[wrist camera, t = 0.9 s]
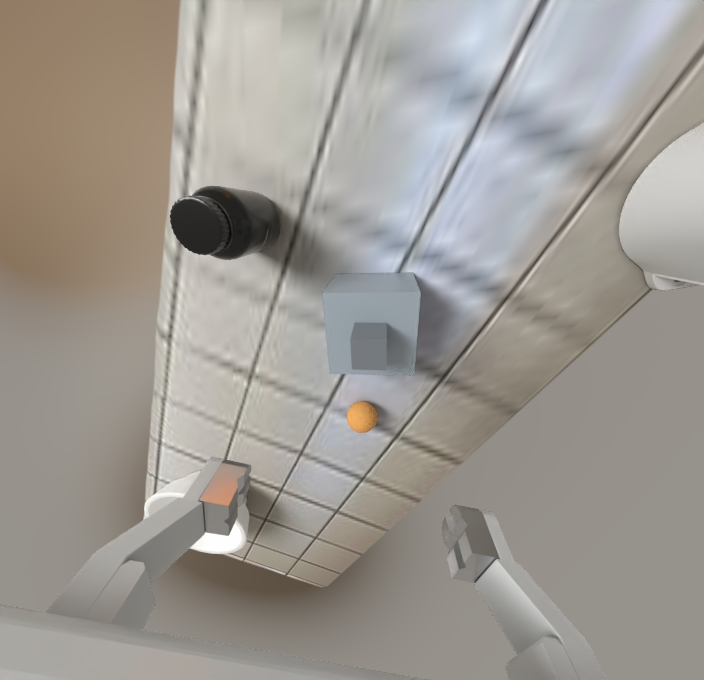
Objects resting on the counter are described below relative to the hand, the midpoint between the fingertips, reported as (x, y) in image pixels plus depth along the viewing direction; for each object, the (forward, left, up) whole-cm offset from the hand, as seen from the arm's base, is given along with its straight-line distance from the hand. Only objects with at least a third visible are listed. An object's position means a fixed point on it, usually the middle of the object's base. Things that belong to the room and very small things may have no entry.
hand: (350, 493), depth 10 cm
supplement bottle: (+15, -9, -29) cm, 34 cm away
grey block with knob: (0, +3, -29) cm, 29 cm away
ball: (+2, +21, -26) cm, 33 cm away
